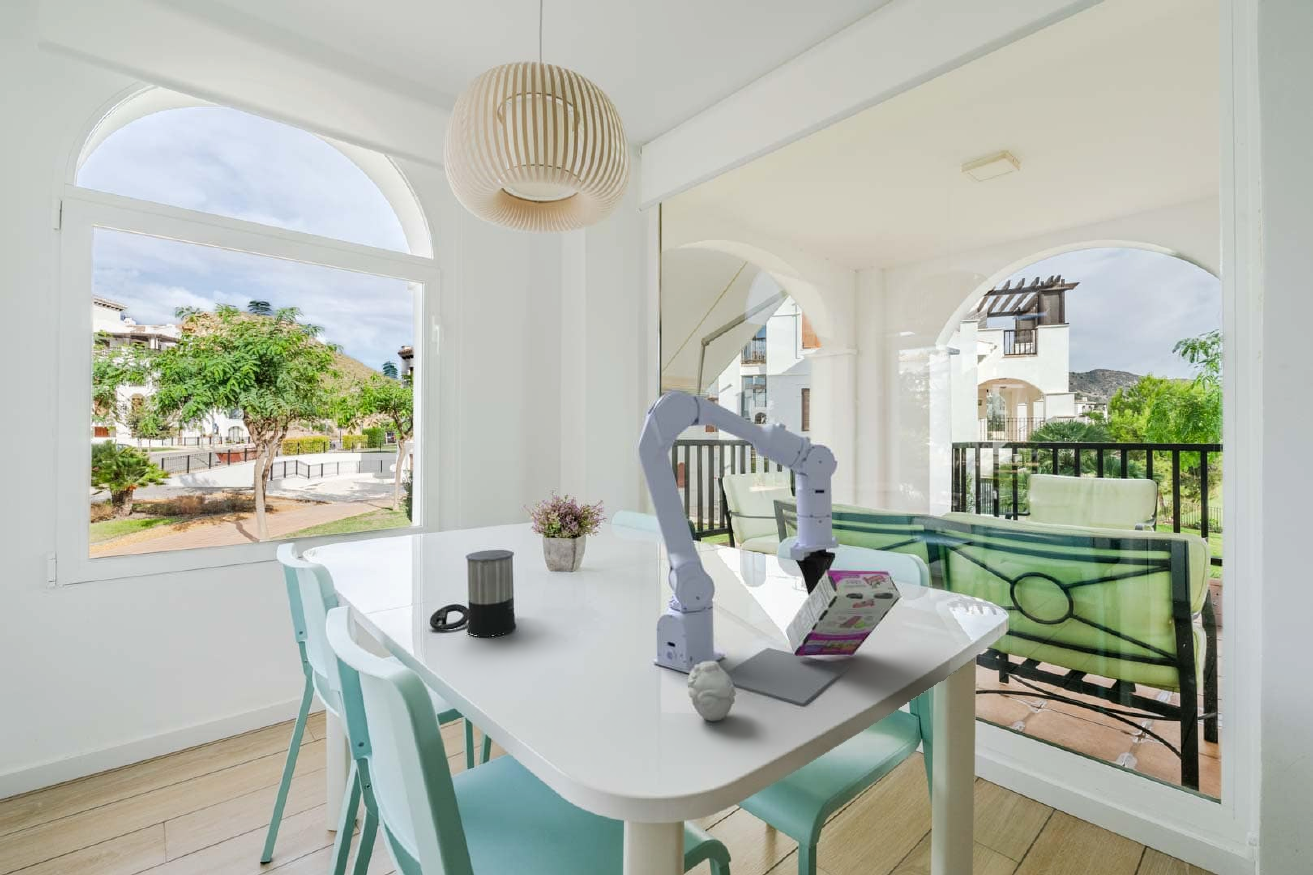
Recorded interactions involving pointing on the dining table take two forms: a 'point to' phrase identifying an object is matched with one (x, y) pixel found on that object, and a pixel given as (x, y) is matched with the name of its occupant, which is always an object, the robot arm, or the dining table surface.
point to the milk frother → (485, 596)
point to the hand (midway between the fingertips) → (815, 595)
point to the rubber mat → (785, 675)
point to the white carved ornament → (711, 690)
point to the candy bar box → (841, 612)
